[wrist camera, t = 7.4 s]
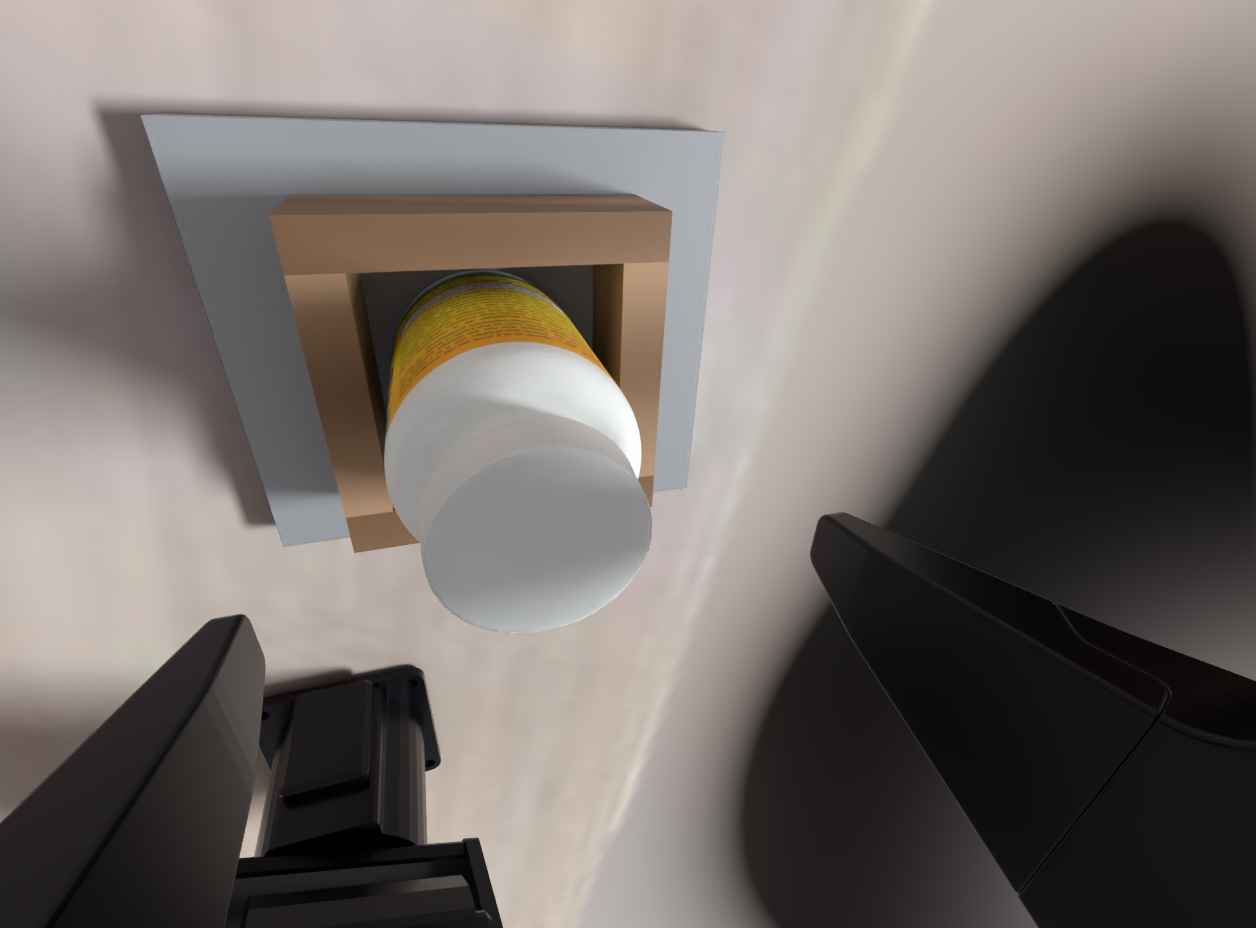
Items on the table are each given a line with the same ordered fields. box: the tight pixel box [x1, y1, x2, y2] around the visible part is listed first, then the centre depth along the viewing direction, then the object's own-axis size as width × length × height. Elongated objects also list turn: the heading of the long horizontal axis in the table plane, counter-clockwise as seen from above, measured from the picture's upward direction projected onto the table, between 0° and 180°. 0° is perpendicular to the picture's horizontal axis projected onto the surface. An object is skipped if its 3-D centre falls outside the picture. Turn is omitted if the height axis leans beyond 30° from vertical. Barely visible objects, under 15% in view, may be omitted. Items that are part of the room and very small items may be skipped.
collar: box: [269, 194, 673, 553], centre depth 17 cm, size 9×9×3 cm
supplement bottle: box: [384, 270, 652, 634], centre depth 14 cm, size 5×5×10 cm
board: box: [141, 114, 724, 547], centre depth 19 cm, size 12×14×1 cm
